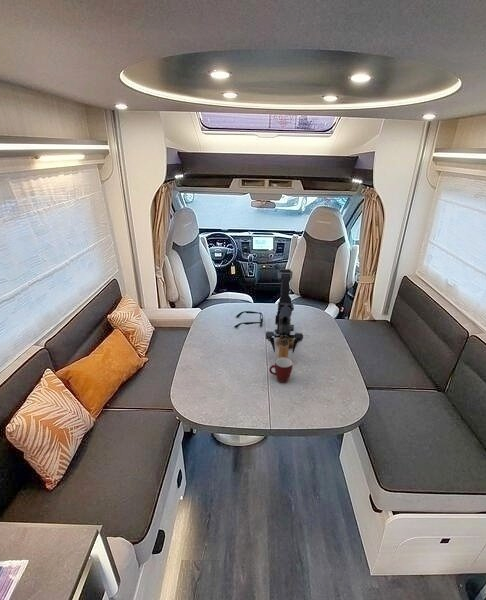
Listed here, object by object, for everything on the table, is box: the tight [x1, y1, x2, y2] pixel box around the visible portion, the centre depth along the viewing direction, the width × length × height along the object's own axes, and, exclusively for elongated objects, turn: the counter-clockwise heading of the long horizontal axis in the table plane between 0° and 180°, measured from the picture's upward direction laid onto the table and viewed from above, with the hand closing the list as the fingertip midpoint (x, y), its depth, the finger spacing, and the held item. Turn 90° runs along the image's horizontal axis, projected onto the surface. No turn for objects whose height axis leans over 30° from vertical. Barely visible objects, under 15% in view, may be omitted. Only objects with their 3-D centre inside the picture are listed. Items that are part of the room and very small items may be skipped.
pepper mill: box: [277, 340, 290, 359], centre depth 157 cm, size 5×5×13 cm
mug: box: [268, 357, 293, 383], centre depth 146 cm, size 10×8×10 cm
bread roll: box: [276, 336, 294, 349], centre depth 178 cm, size 11×11×5 cm
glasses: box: [234, 310, 264, 329], centre depth 200 cm, size 17×18×5 cm
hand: (283, 353), depth 156 cm, fingers open, 9 cm apart
